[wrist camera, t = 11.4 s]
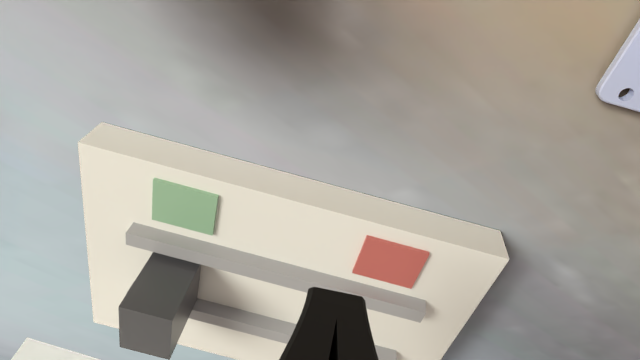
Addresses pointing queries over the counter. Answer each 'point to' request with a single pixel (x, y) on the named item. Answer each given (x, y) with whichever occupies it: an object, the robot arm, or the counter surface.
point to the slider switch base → (275, 248)
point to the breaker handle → (158, 305)
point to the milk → (46, 352)
